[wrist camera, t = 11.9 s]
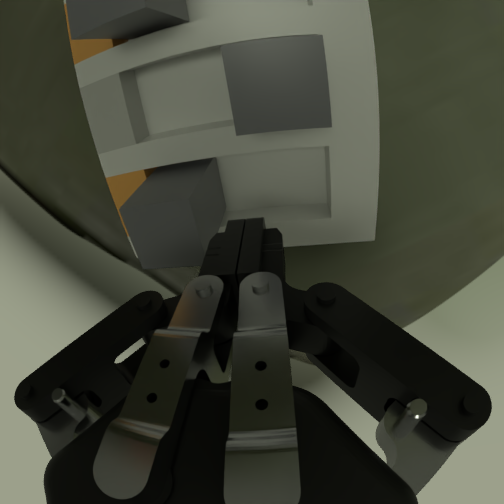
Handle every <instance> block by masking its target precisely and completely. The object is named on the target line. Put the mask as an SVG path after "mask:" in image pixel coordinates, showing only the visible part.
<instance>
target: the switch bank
mask: <svg viewBox="0 0 504 504" xmlns="http://www.w3.org/2000/svg"><path fill="white" fill-rule="evenodd" d="M64 5H65V13H66V20H67V27H68V33H69V39H70V45H71V50H72V55H73V60H74V65H75V70H76V74H77V79H78V83H79V88H80V92H81V96H82V100H83V104H84V108H85V111H86V115H87V119H88V122H89V126H90V130H91V133H92V136H93V140H94V143H95V146H96V150H97V153H98V156H99V159H100V162H101V165H102V168H103V171H104V174H105V177H106V180H107V183H108V186H109V189H110V192H111V194H112V197H113V200H114V203H115V205H116V208H117V211H118V213H119V216H120V218H121V221H122V224H123V226H124V229H125V231H126V234H127V236H128V239H129V241H130V243H131V246H132V248H133V251H134V253H135V255H136V258H138V256H137V254H136V251H135V249H134V246H133V244H132V242H131V239H130V237H129V234H128V232H127V229H126V227H125V224H124V222H123V219H122V216H121V214H120V211H119V209H120V207H121V206H122V205H123V204H124V203H125V202H126V201H127V199H128V198H129V197H130V196H131V195H132V194H133V193H134V192H135V191H136V190H137V188H138V187H139V186H140V185H141V184H142V183H143V182H144V181H145V180H146V179H147V178H148V177H149V176H150V175H151V174H152V173H153V172H154V171H155V169H156V168H157V167H159V166H164V165H170V164H175V163H181V162H187V161H193V160H199V159H206V158H212V157H216V160H217V165H218V170H219V175H220V179H221V184H222V189H223V194H224V198H225V203H226V210H225V213H224V216H223V219H222V222H221V225H220V228H219V231H218V233H221V232H225V229H226V225H227V222H228V220H236V219H247V218H258V217H264V219H265V226H266V229H268V228H278V230H279V231H280V232H281V234H282V237H283V247H292V246H306V245H320V244H334V243H348V242H362V241H375V231H376V219H377V204H378V186H379V100H378V82H377V68H376V57H375V47H374V38H373V30H372V23H371V16H370V10H369V3H368V0H186V5H187V11H188V16H189V22H186V23H182V24H179V25H175V26H172V27H168V28H165V29H161V30H158V31H155V32H152V33H149V34H146V35H143V36H140V37H137V38H134V39H80V40H72V39H71V33H70V27H69V21H68V14H67V6H66V0H64ZM303 35H323V42H324V49H325V57H326V65H327V74H328V84H329V94H330V106H331V118H332V127H330V128H312V129H297V130H285V131H275V132H265V133H256V134H248V135H240V136H236V132H235V126H234V120H233V115H232V109H231V103H230V98H229V92H228V86H227V81H226V75H225V69H224V64H223V58H222V53H221V47H220V45H226V44H231V43H237V42H244V41H251V40H258V39H267V38H277V37H288V36H303Z"/></svg>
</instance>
